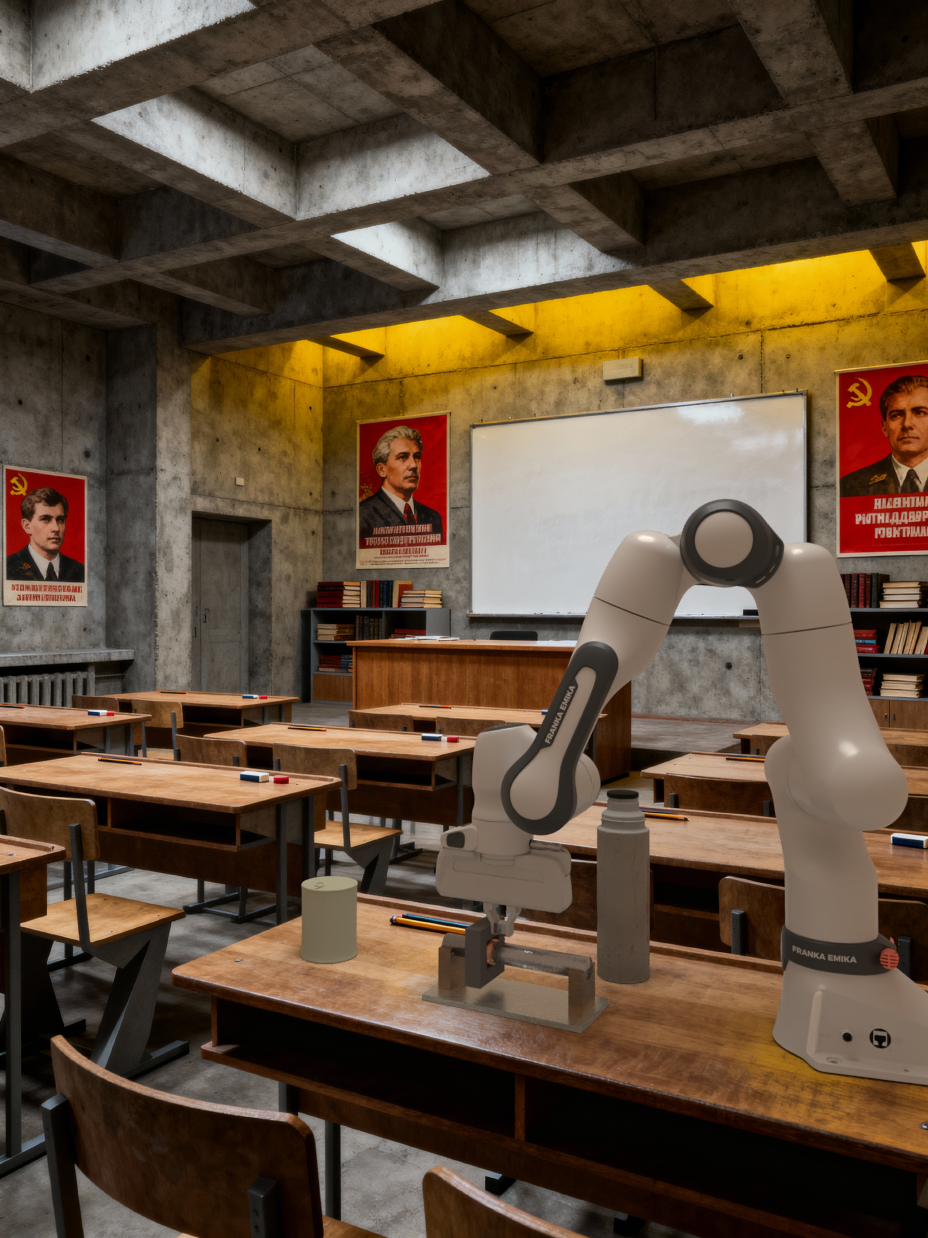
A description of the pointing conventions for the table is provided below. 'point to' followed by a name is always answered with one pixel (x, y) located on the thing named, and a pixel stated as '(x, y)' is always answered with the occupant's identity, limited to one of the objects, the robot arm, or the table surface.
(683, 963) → the table surface
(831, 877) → the robot arm
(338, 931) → the can
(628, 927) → the thermos bottle
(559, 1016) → the rail
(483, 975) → the collar
